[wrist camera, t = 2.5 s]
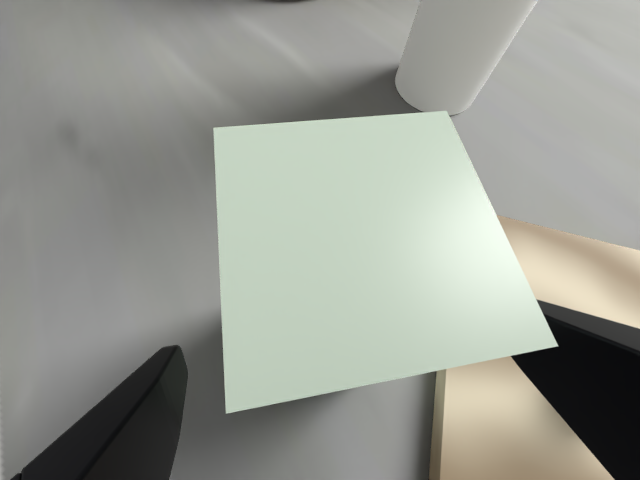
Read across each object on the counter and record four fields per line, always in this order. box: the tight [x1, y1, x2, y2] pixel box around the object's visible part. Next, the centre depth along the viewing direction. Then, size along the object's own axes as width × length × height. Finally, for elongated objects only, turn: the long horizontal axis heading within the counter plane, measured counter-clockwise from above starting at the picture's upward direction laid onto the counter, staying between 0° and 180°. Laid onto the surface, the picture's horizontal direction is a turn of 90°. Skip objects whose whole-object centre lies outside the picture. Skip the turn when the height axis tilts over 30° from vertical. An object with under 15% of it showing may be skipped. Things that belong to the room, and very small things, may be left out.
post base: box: [429, 215, 640, 480], centre depth 15 cm, size 18×16×5 cm
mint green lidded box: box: [213, 111, 558, 414], centre depth 11 cm, size 5×5×13 cm
